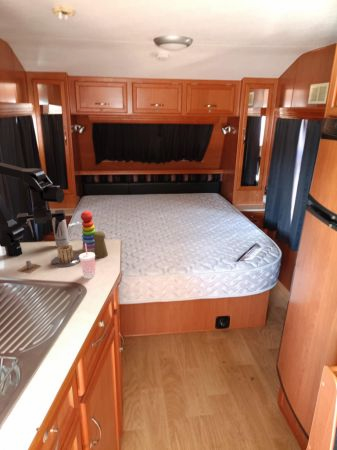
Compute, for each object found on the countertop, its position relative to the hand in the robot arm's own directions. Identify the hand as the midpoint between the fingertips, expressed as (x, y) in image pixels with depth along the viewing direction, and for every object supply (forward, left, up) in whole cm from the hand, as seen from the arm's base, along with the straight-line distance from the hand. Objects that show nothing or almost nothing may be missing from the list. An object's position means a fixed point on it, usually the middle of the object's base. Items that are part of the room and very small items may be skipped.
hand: (44, 235), depth 139 cm
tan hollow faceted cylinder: (+9, +1, -11) cm, 14 cm away
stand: (-1, -10, -12) cm, 15 cm away
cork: (+19, +12, -12) cm, 26 cm away
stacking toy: (+11, +16, -12) cm, 23 cm away
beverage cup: (+25, -5, -12) cm, 28 cm away
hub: (+9, +1, -12) cm, 15 cm away
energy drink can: (-4, +14, -12) cm, 19 cm away
